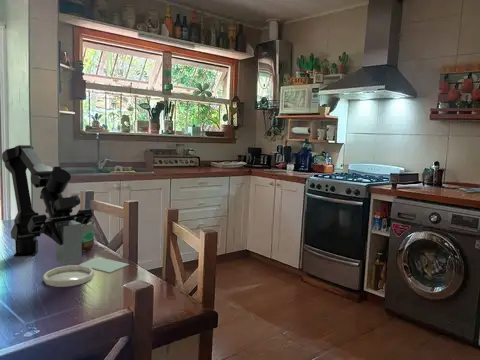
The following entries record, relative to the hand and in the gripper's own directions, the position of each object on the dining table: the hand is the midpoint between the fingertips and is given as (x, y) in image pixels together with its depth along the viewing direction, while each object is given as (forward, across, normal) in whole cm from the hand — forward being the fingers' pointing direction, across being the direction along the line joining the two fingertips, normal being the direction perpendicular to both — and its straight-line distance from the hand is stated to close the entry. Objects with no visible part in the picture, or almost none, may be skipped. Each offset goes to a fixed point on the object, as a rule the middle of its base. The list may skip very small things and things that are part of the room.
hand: (70, 242), depth 120 cm
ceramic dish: (+8, 0, +10) cm, 12 cm away
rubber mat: (+6, +14, +12) cm, 19 cm away
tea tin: (+3, 0, +5) cm, 6 cm away
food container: (-10, +19, +28) cm, 35 cm away
